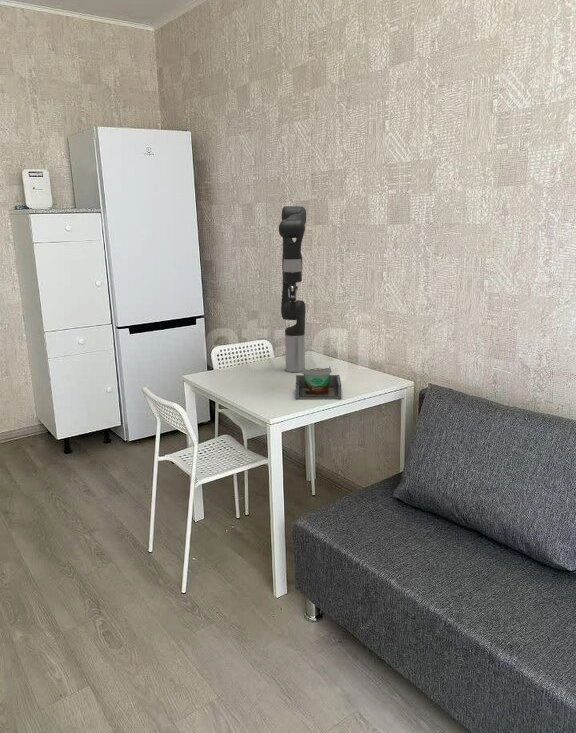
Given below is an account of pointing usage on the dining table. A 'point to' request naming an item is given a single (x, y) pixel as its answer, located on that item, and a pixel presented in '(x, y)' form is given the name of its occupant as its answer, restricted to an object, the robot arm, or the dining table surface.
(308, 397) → the keeper cradle
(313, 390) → the food container
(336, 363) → the dining table surface
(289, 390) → the dining table surface
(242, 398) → the dining table surface
